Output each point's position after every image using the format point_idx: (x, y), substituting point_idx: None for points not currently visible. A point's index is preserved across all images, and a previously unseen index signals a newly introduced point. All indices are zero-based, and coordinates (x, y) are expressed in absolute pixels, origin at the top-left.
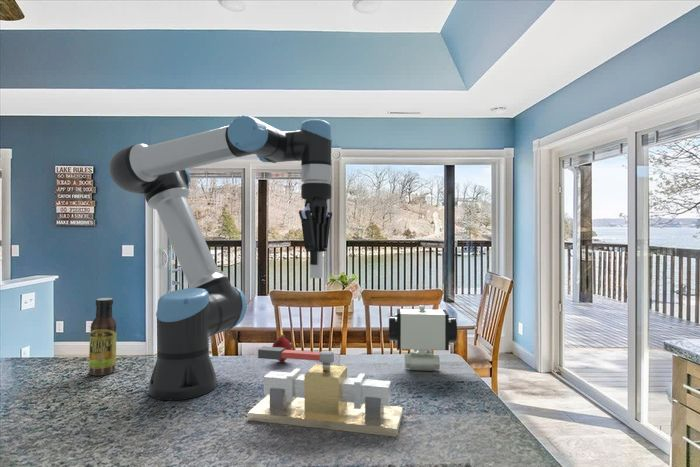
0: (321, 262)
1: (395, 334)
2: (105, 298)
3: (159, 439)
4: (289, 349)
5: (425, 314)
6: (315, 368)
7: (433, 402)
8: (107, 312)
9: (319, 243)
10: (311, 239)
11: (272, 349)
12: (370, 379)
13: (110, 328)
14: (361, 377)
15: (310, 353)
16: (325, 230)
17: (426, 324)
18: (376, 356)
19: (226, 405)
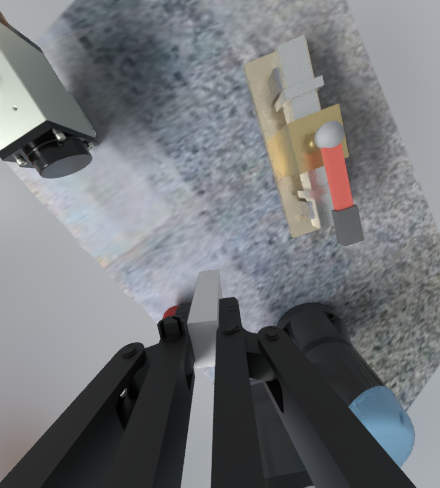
0: (201, 295)
1: (83, 143)
2: None
3: (405, 256)
4: (175, 309)
5: (5, 56)
6: (317, 161)
7: (185, 47)
8: None
9: (184, 372)
10: (315, 370)
11: (354, 222)
12: (285, 80)
13: None
14: (301, 86)
15: (340, 160)
16: (59, 481)
17: (26, 66)
18: (72, 218)
19: (321, 264)
